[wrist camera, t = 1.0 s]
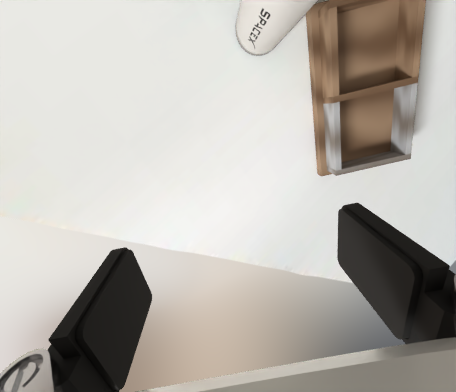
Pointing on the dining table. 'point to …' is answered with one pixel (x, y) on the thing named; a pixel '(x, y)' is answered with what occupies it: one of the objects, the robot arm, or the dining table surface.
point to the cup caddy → (364, 81)
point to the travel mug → (267, 22)
